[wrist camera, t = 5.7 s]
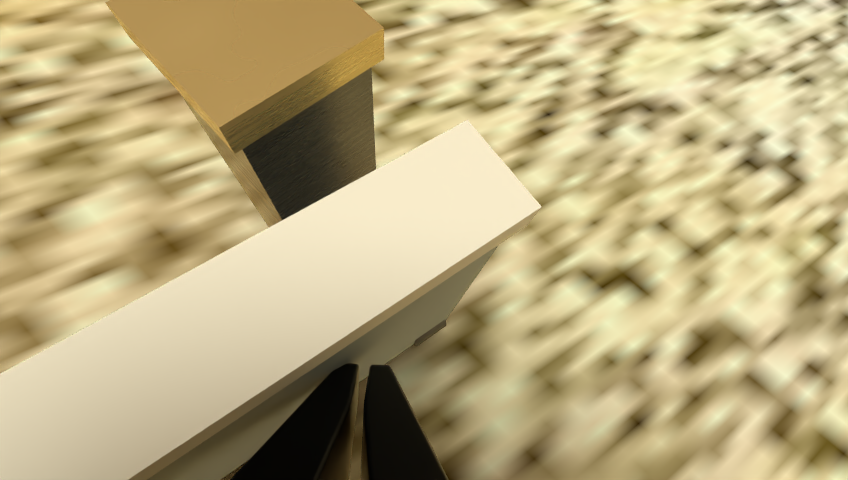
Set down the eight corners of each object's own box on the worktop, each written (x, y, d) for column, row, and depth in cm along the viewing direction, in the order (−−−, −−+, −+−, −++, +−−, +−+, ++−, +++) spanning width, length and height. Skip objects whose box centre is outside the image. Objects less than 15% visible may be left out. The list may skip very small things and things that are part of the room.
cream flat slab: (119, 558, 12) (-768, 1071, 3) (96, 499, 12) (-734, 771, 3) (448, 325, 15) (541, 206, 6) (420, 286, 16) (467, 119, 6)
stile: (327, 307, 15) (218, 127, 5) (281, 253, 16) (105, 2, 6) (385, 259, 16) (383, 28, 6) (339, 210, 17) (270, -72, 7)
